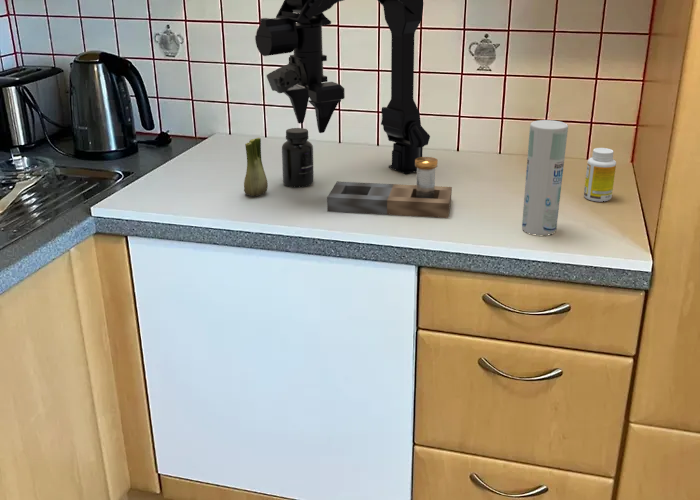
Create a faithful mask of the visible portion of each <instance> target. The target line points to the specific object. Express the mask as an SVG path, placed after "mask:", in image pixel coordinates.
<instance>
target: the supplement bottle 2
mask: <svg viewBox="0 0 700 500" xmlns="http://www.w3.org/2000/svg"><path fill="white" fill-rule="evenodd" d="M586 163H587V165H586V173H585V182H584V191H583V196H584V198H585V199H586V200H588V201H591V202H600V203H603V201H604V202H608V201H610V200H611V199H612V196H613V190H614V183H615V177H616V176H615V175H616V174H615V173H616V168H617V161H616V160H615V159H614V150H613V149H611V148H606V147H595V148H593V150H592V156H591V157H589V158H588V159H587V162H586Z"/></svg>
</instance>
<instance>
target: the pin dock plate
mask: <svg viewBox="0 0 700 500" xmlns="http://www.w3.org/2000/svg"><path fill="white" fill-rule="evenodd" d="M416 185H417V184H399V183H398V184H397V183H380V182H379V183H374V182H361V181H360V182H356V181H355V182H354V181H353V182H352V181H339V180H338V181H336V182H335V183H334V185H333V187H332V188H331V190H330V192H329V193H328V195H327V197H326V203H327V204H326V205H327V206H326V207H327V209H326V210H327V212H335V213H351V214H352V213H353V214H367V215H368V214H371V215H372V214H373V215H388V216H403V217H404V216H406V217H425V218H440V219H441V218H442V219H443V218H444V219H448V218H449V216H450V209H451V204H452V191H453V190H452V189H453V187H452V186H438V185H435V190H434V199H430V198H416Z"/></svg>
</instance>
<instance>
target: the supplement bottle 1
mask: <svg viewBox="0 0 700 500" xmlns="http://www.w3.org/2000/svg"><path fill="white" fill-rule="evenodd" d="M309 137H310V136H309V129H307V128H304V127H303V128H302V127H294V128H293V127H292V128H288V129H286V130H285V140H286V141H285V142H284V143H283V144H282V146H281V159H282V160H281V163H282V165H281V167H282V183H283V184H284V185H285V186H287V187H290V188H296V189H298V188H306V187H310V186H312V185H313V183H314V180H315V179H314V175H315V174H314V146H313V144H312V142H310V141H308V140H309Z"/></svg>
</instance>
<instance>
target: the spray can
mask: <svg viewBox="0 0 700 500" xmlns="http://www.w3.org/2000/svg"><path fill="white" fill-rule="evenodd" d="M568 132H569V126H568V124H567V123H566V122H563V121H559V120H552V119H551V120H550V119H541V120H534V121H532V122H530V124H529V134H528V147H527V148H528V149H527V158H526V160H527V161H526V171H525V172H526V175H525V185H524V194H523V195H524V197H523V209H522V221H521V228H522V229H523V230H524V231H525V232H524V231H523V230H522V231H523V232H524V233H526V232H527V233H526V234H528V233H530V234H529V235H531V234H536V235H548V234H552V233H554V232H555V231H557V227H558V219H559V209H560V201H561V191H562V182H563V174H564V168H565V167H564V166H565V160H566V159H565V158H566V148H567V139H568ZM555 233H556V232H555ZM555 233H554V234H555ZM536 235H535V236H536ZM552 235H553V234H552ZM548 236H549V235H548Z"/></svg>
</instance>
